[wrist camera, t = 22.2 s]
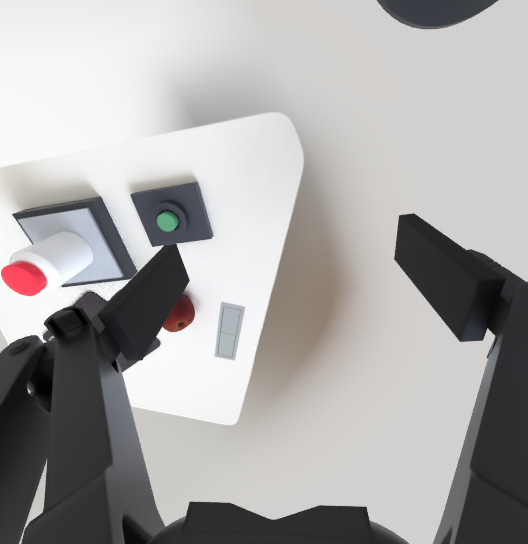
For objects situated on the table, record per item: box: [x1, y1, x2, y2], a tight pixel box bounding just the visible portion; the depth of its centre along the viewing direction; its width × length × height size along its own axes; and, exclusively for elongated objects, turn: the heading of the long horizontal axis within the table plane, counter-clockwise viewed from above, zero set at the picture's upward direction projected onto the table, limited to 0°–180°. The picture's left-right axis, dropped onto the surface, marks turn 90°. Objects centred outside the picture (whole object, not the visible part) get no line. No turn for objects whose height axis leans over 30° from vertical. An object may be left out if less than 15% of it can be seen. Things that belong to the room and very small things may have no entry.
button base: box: [130, 182, 213, 247], centre depth 45 cm, size 12×10×3 cm
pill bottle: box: [1, 231, 93, 296], centre depth 43 cm, size 8×8×11 cm
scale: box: [12, 197, 137, 287], centre depth 49 cm, size 16×16×3 cm
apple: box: [162, 295, 195, 332], centre depth 53 cm, size 7×8×8 cm
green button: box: [157, 211, 178, 232], centre depth 43 cm, size 3×3×2 cm
